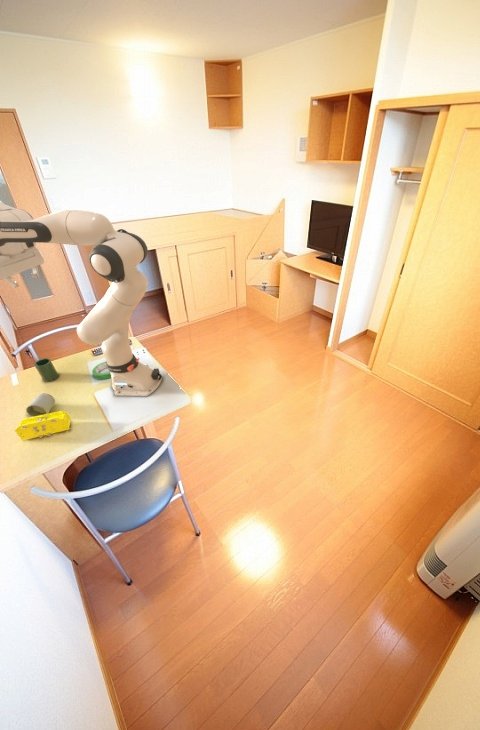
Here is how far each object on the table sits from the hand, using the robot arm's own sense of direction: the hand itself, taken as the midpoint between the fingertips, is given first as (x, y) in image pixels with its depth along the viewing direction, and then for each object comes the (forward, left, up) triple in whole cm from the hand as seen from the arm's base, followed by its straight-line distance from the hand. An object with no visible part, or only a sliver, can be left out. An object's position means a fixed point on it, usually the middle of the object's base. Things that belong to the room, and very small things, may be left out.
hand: (26, 282), depth 117 cm
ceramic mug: (-6, +25, -48) cm, 54 cm away
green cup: (+8, +5, -48) cm, 48 cm away
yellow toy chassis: (-17, +33, -48) cm, 60 cm away
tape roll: (-16, -4, -48) cm, 51 cm away
